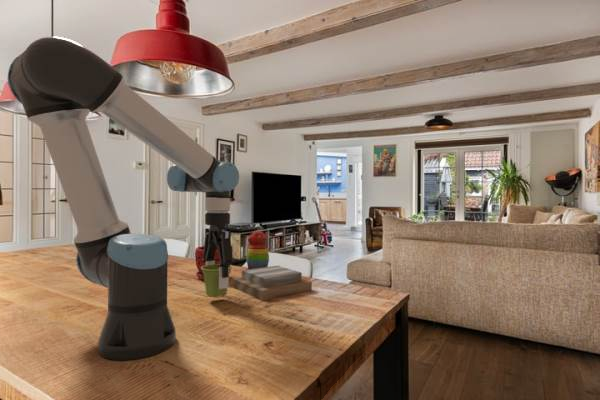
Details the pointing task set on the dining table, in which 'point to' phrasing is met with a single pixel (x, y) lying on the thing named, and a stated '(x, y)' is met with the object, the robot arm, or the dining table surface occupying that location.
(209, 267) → the plant pot
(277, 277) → the stepped square platform
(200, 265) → the plant pot
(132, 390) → the dining table surface
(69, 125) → the robot arm
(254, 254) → the stacking bear
